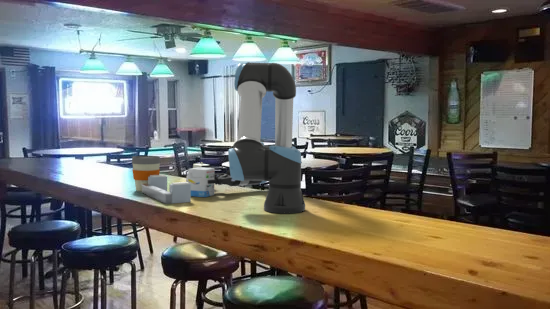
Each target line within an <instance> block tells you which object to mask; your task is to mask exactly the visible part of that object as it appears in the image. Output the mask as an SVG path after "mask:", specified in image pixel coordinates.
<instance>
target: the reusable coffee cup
mask: <svg viewBox="0 0 550 309" xmlns="http://www.w3.org/2000/svg"><path fill="white" fill-rule="evenodd" d="M131 157H132V158H131V164H132V178H133V180H134V182H135V190H137V191H136V192H142V185H141V184H148V177H150V175H160V172H161V170H160V169H161V168H160V165H161V156H158V155H134V156H131Z"/></svg>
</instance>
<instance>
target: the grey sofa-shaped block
mask: <svg viewBox="0 0 550 309" xmlns="http://www.w3.org/2000/svg"><path fill="white" fill-rule="evenodd" d="M148 184H150V185H153V186H155V187H158V188H160V189H163V190H165V191H168V190H169V191H168V192H170V193H172V203H171V204H181V203H191V201H192V200H191V199H192V196H191V184H189V183H188V182H186V181H180V182H179V181H178V182H171V183H169V184H168V176H167V175H165V174H159V175H150V177H148ZM168 185H169V189H168Z"/></svg>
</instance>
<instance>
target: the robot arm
mask: <svg viewBox="0 0 550 309" xmlns="http://www.w3.org/2000/svg"><path fill="white" fill-rule="evenodd" d="M233 84H234V86H233V87H234V90H235V91H236V92H237V93H238V95H239V96H240V103H239V104H240V105H239V118H238V128H237V140H235V142H233V145H232V148H229V149H228V150H227V152H228V155H227V156H228V167H229V169H228V170H227V171H226V173H214V178H204V179H200V186H201V185H213V184H214V185H218V186H222V185H228V186H229V187H238V186H241V187H244V186H252V185H261V184H266V183H267V182H268V190H267V193H266V196H265V200H264V203H263V210H264V211H266V212H269V213H273V214H274V213H275V214H298V213H303V212H305V211H306V203H305V199H304V196H303V192H302V189H301V187H302V153H301V151H300V150H299V149H298V148H296V146H293V123H294V122H293V121H294V120H293V119H294V118H293V117H294V98H295V97H296V96H297V86H296V82H295V80H294V77H293V75H292V74H291V72H290V71H289V70H288V69H287V68H286V66H284V65H282V64H280V63H277V62H250V61H247V62H240V63H238V64H237V66H236V68H235V73H234V82H233ZM267 92H270V93H271V92H272V95H273V96H272V97H274V98H275V99H274V100H275V101H274V102H275V103H274V104H275V107H274V108H275V111H274V112H275V113H274V114H275V121H274V122H275V125H274V126H275V127H274V137H275V138H274V144H272V145H268V146H267V145H265V142H263V141H261V136H262V134H261V132H262V117H263V116H262V114H263V113H262V112H263V110H262V109H263V99H264V97H265V96H266V95H267ZM185 177H186V178H185V180H186V181H185V182H188V175H186V176H185ZM304 210H305V211H304ZM302 211H303V212H302Z"/></svg>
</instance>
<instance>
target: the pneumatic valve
mask: <svg viewBox="0 0 550 309" xmlns="http://www.w3.org/2000/svg"><path fill="white" fill-rule="evenodd" d="M197 167H199V168H200V167H205V168H212V165H211V164H206V163H203V162H202V161H201V162H200V163H193V164H192V168H197Z"/></svg>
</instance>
